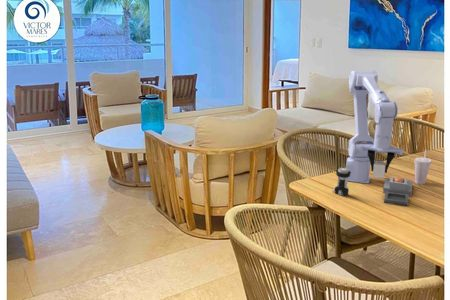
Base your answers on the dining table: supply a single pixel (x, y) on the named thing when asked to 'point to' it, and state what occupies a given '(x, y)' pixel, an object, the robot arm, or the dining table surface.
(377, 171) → the block
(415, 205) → the dining table surface
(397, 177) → the button
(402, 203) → the tray
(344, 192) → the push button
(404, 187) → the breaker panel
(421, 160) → the smoothie
